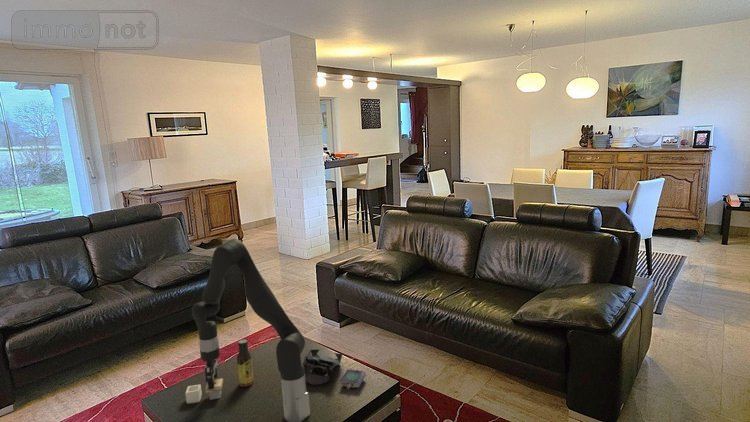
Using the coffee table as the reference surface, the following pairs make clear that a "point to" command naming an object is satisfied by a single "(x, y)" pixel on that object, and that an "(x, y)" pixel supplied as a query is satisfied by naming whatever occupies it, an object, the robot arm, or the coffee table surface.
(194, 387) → the white cube box
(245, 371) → the sauce bottle
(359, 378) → the grey electronic device
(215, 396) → the gray cube
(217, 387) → the lid
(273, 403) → the coffee table surface
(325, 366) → the dark piece
